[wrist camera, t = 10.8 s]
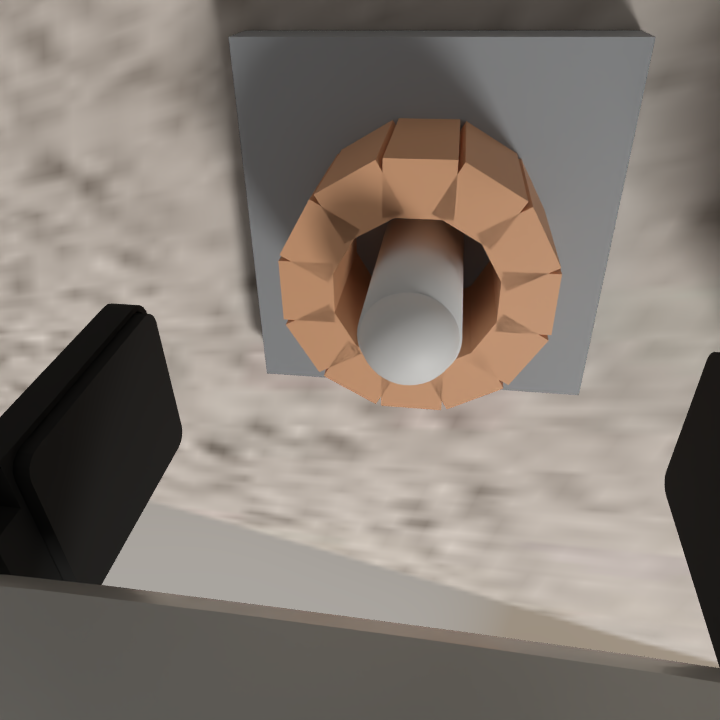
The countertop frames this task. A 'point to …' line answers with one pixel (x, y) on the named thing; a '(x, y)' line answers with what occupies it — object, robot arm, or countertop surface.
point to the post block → (427, 236)
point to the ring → (424, 201)
